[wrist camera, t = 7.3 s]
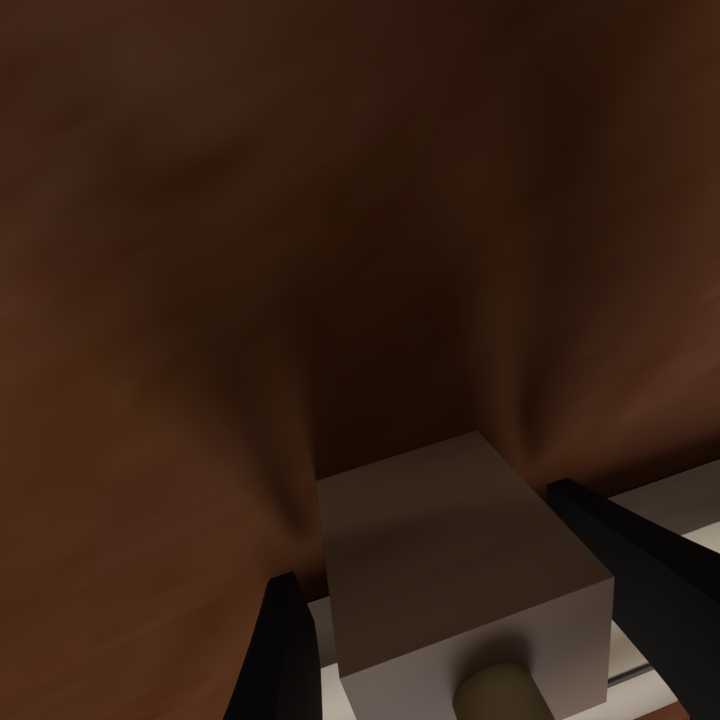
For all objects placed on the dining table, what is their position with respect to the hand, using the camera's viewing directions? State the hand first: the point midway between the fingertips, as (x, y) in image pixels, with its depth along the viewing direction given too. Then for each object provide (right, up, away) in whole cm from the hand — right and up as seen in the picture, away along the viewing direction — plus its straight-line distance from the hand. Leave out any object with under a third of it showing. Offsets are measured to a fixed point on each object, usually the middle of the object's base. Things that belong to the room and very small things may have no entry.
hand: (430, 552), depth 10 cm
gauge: (0, -3, +3) cm, 4 cm away
